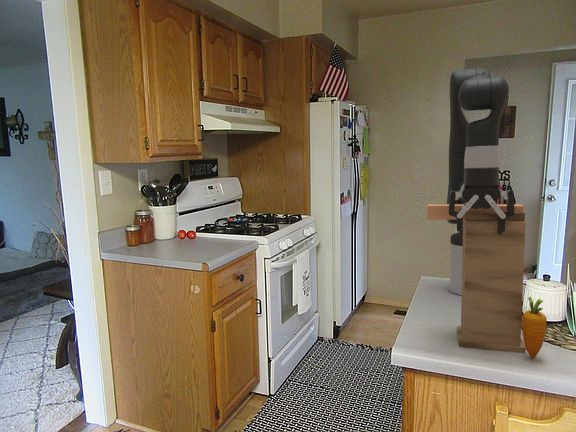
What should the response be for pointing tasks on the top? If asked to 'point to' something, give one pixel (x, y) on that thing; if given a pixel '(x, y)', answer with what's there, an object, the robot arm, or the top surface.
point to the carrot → (533, 328)
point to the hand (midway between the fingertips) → (479, 233)
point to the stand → (492, 282)
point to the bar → (443, 209)
